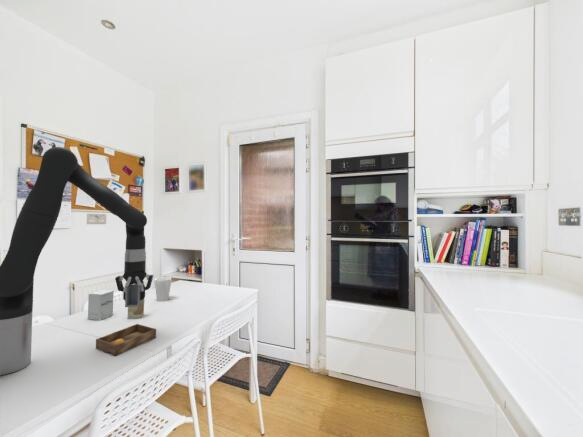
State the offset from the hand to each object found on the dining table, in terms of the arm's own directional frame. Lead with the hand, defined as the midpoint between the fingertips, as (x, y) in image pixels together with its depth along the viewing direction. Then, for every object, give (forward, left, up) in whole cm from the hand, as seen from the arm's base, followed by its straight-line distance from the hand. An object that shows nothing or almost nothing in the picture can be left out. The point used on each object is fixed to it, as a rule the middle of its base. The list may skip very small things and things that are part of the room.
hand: (134, 300), depth 104 cm
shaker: (0, 0, -2) cm, 2 cm away
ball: (-9, -5, -13) cm, 17 cm away
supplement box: (+7, +35, -16) cm, 39 cm away
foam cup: (+40, +32, -16) cm, 54 cm away
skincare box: (+15, +20, -16) cm, 30 cm away
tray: (-4, -3, -15) cm, 16 cm away
